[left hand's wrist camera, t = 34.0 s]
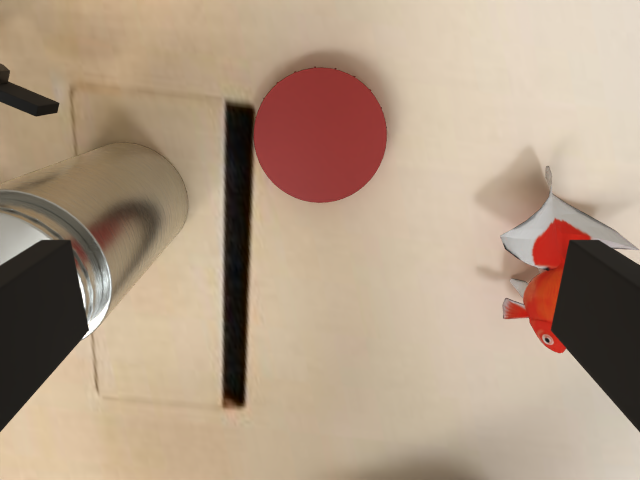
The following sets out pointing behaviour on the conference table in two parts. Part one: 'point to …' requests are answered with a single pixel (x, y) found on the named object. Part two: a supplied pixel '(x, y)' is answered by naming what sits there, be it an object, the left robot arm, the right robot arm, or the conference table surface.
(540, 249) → the fish
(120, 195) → the jar
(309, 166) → the lid
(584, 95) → the conference table surface
